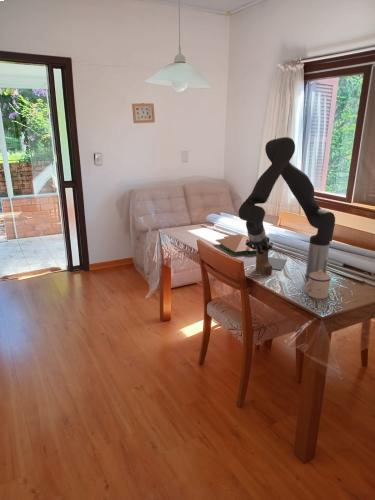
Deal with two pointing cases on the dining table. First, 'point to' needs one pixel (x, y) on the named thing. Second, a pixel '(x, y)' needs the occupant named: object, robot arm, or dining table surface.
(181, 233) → the dining table surface
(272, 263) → the mat
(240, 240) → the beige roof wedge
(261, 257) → the wooden block
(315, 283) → the teacup with lid
